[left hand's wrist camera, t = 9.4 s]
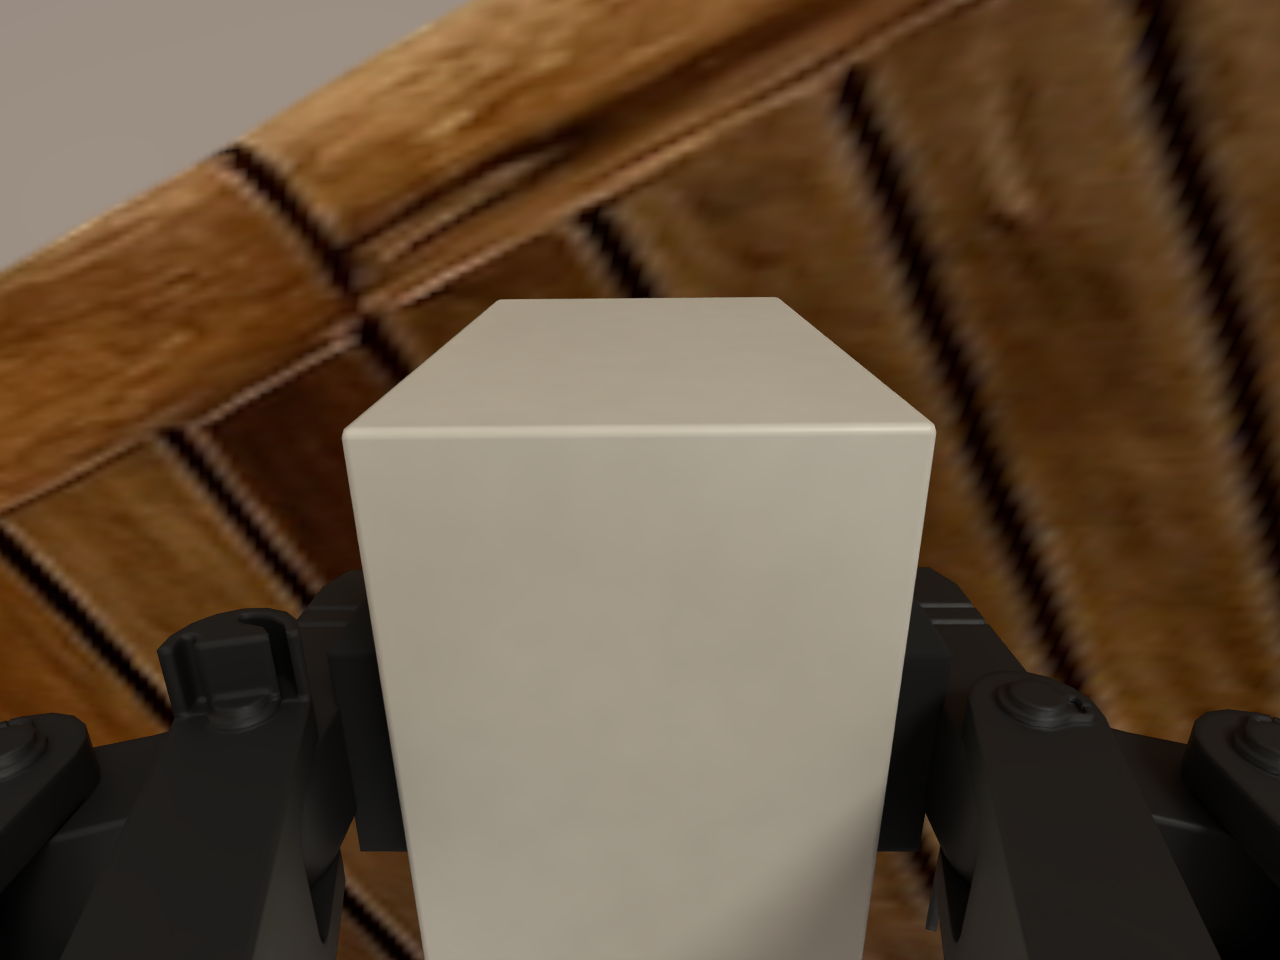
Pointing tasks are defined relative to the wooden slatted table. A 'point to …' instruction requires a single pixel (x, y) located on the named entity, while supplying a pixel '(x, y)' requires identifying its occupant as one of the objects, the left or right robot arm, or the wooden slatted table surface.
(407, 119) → the wooden slatted table surface
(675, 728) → the beam
